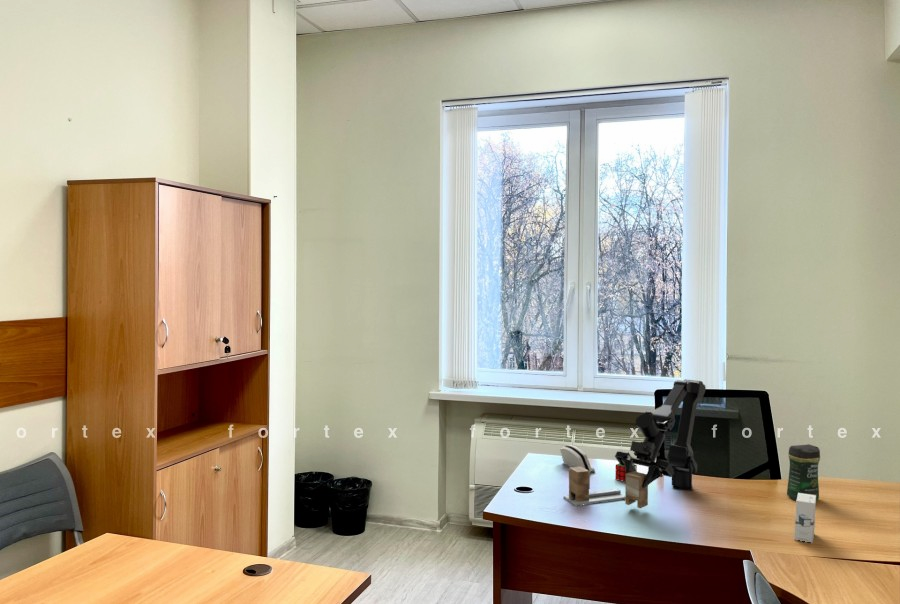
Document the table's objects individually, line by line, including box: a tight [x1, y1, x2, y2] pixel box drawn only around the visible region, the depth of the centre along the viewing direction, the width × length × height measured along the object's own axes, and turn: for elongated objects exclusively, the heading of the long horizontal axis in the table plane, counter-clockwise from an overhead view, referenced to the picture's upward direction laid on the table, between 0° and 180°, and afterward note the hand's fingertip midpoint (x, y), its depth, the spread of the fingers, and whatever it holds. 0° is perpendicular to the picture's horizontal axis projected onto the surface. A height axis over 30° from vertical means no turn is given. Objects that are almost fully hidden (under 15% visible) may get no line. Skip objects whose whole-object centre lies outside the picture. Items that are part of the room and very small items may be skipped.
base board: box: [563, 489, 625, 507], centre depth 219 cm, size 20×8×1 cm, turn 109°
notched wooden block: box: [624, 471, 649, 509], centre depth 208 cm, size 5×6×10 cm
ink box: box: [793, 493, 817, 543], centre depth 187 cm, size 9×5×12 cm, turn 148°
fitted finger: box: [568, 466, 591, 502], centre depth 217 cm, size 5×6×10 cm
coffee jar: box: [786, 443, 821, 501], centre depth 219 cm, size 10×8×19 cm
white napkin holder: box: [559, 444, 596, 473], centre depth 255 cm, size 17×5×10 cm, turn 19°
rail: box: [568, 488, 622, 500], centre depth 219 cm, size 19×2×1 cm, turn 109°
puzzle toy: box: [614, 462, 638, 482], centre depth 240 cm, size 6×6×6 cm
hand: (634, 485), depth 207 cm, fingers closed on notched wooden block, 5 cm apart
